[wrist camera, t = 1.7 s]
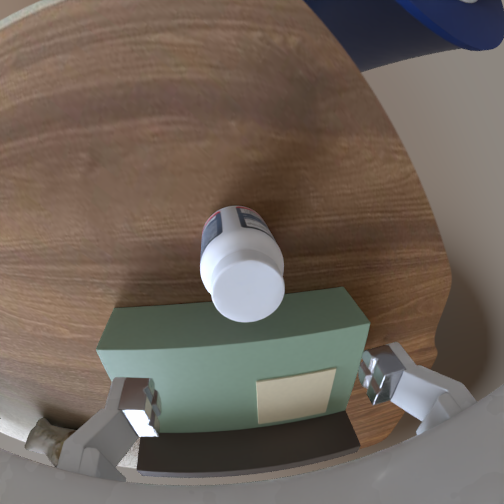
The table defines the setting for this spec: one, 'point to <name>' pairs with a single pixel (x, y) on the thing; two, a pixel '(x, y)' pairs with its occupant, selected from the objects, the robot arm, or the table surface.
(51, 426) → the ceramic sculpture
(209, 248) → the pill bottle
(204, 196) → the table surface
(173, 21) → the table surface
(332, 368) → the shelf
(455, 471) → the robot arm
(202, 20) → the table surface
